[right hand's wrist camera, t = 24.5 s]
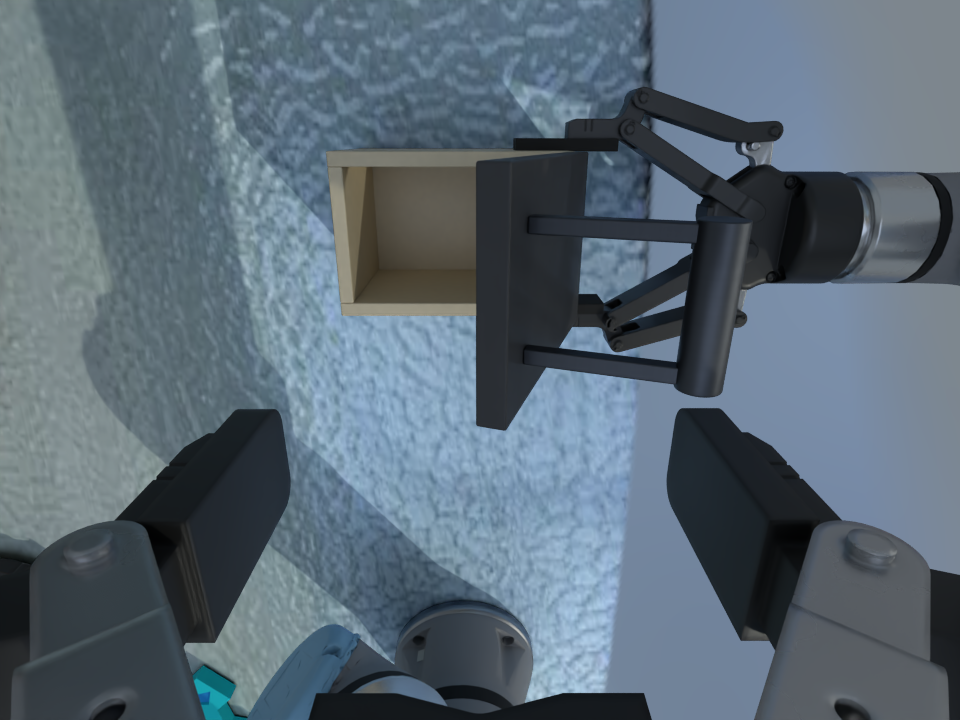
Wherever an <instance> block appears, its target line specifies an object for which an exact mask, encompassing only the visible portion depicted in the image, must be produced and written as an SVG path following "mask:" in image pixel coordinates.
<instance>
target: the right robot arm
mask: <svg viewBox="0 0 960 720" xmlns="http://www.w3.org/2000/svg"><path fill="white" fill-rule="evenodd" d="M667 492H668V498H669V502H670V505H671V507H672V509H673V511H674V513H675V515H676V517H677V519H678V521H679V523H680V524H681V526H682V528H683V530H684V532H685V534H686V536H687V538H688V540H689V542H690V544H691V546H692V548H693V549H694V551H695V553H696V555H697V557H698V559H699V561H700V563H701V565H702V567H703V569H704V571H705V573H706V574H707V576H708V578H709V580H710V582H711V584H712V586H713V588H714V590H715V592H716V594H717V596H718V597H719V600H720V601H721V603H722V605H723V607H724V609H725V611H726V613H727V615H728V617H729V619H730V621H731V623H732V625H733V626H734V628H735V630H736V632H737V634H738V636H739V638H740V640H741V641H770V642H771V644H772V646H773V648H774V649H775V654H774V657H773V660H772V663H771V667H770V670H769V673H768V676H767V680H766V683H765V686H764V689H763V693H762V696H761V699H760V702H759V706H758V709H757V712H756V716H755V719H754V720H960V575H957V574H952V573H947V572H942V571H937V570H933V569H930V568H929V566H928V564H927V562H926V561H925V559H924V558H923V557H922V556H921V555H920V554H919V553H918V552H917V551H916V550H915V549H914V548H913V547H911V546H910V545H909V544H907V543H906V542H904V541H903V540H901V539H899V538H898V537H896V536H894V535H892V534H890V533H888V532H886V531H883V530H881V529H878V528H875V527H873V526H869V525H866V524H862V523H858V522H852V521H842V520H841V519H840V518H839V517H838V516H837V514H835V512H834V511H833V510H832V509H831V508H830V507H829V506H828V505H827V504H826V503H825V502H824V501H823V500H822V499H821V498H820V497H819V496H818V494H817V493H816V492H815V491H814V490H813V489H812V488H811V487H810V486H809V485H808V484H807V483H806V482H805V481H804V480H803V479H800V478H799V474H798V473H797V472H796V471H795V470H794V469H793V468H792V467H791V466H790V465H787V462H786V461H785V460H784V459H783V458H782V456H781V455H780V454H779V453H778V452H777V451H776V450H775V449H774V448H773V447H772V446H771V445H769V444H767V443H765V442H764V441H762V440H760V439H759V438H757V437H755V436H753V435H752V434H750V433H748V432H741V431H740V430H739V428H738V427H737V426H736V425H735V424H734V423H733V422H732V421H731V420H730V418H729V417H728V416H727V415H726V414H725V413H724V412H723V411H722V410H721V409H719V408H682V409H680V410H679V411H678V413H677V415H676V419H675V424H674V431H673V438H672V445H671V451H670V458H669V465H668V472H667ZM289 495H290V471H289V465H288V458H287V451H286V445H285V438H284V432H283V425H282V419H281V416H280V414H279V412H278V411H277V410H276V409H237V410H235V411H234V412H233V413H232V414H231V415H230V417H229V418H228V419H227V420H226V421H225V422H224V423H223V424H222V425H221V427H220V428H219V429H218V430H217V431H216V432H215V433H208V434H207V435H205V436H203V437H201V438H200V439H198V440H196V441H194V442H193V443H191V444H189V445H188V446H186V447H184V448H183V449H182V450H181V452H180V453H179V454H178V455H177V456H176V457H175V458H174V459H173V460H172V461H171V462H170V463H169V466H166V467H165V468H164V469H163V470H162V471H161V472H160V473H159V475H158V476H157V479H156V480H153V481H152V482H151V483H150V484H149V485H148V486H147V487H146V488H145V489H144V490H143V491H142V492H141V493H140V494H139V495H138V496H137V498H136V499H135V500H134V501H133V502H132V503H131V504H130V505H129V506H128V507H127V508H126V509H125V510H124V511H123V512H122V513H121V514H120V515H119V516H118V517H117V518H116V519H115V521H108V522H102V523H98V524H94V525H91V526H87V527H84V528H82V529H79V530H77V531H74V532H72V533H70V534H68V535H66V536H64V537H62V538H61V539H59V540H57V541H56V542H54V543H53V544H51V545H50V546H49V547H47V548H46V549H45V550H44V551H43V552H42V553H41V554H40V555H39V556H38V557H37V558H36V559H35V561H34V562H33V564H32V566H31V568H30V570H26V571H22V572H17V573H12V574H7V575H2V576H0V720H206V719H205V715H204V712H203V709H202V706H201V702H200V699H199V696H198V693H197V689H196V686H195V683H194V680H193V676H192V673H191V670H190V667H189V663H188V660H187V657H186V654H185V650H184V645H185V643H215V641H216V640H217V638H218V636H219V634H220V632H221V630H222V628H223V626H224V624H225V622H226V621H227V619H228V617H229V615H230V613H231V611H232V609H233V607H234V605H235V603H236V602H237V600H238V598H239V596H240V594H241V592H242V590H243V588H244V586H245V584H246V583H247V581H248V579H249V577H250V575H251V573H252V571H253V569H254V567H255V565H256V564H257V562H258V560H259V558H260V556H261V554H262V552H263V550H264V548H265V546H266V544H267V543H268V541H269V539H270V537H271V535H272V533H273V531H274V529H275V527H276V525H277V524H278V522H279V520H280V518H281V516H282V514H283V512H284V510H285V508H286V506H287V503H288V500H289ZM308 720H652V719H651V716H650V712H649V709H648V706H647V702H646V699H645V695H644V693H562V694H558V695H554V696H550V697H546V698H543V699H539V700H535V701H531V702H527V703H523V704H519V705H516V706H512V707H508V708H504V709H500V710H496V711H493V712H488V713H472V712H467V711H464V710H460V709H456V708H452V707H448V706H444V705H440V704H437V703H433V702H429V701H425V700H421V699H417V698H414V697H410V696H406V695H402V694H398V693H316V695H315V699H314V702H313V705H312V709H311V712H310V716H309V719H308Z"/></svg>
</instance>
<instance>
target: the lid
mask: <svg viewBox="0 0 960 720" xmlns="http://www.w3.org/2000/svg"><path fill="white" fill-rule="evenodd" d="M587 165H588V152H561V153H551V154H541V155H531V156H521V157H511V158H501V159H491V160H481V161H477V162H476V425H477V426H480V427H486V428H492V429H498V430H506V429H507V428H508V426H509V425H510V423H511V421H512V420H513V418H514V417H515V415H516V414H517V412H518V411H519V409H520V407H521V406H522V404H523V403H524V401H525V400H526V398H527V396H528V395H529V393H530V392H531V390H532V389H533V387H534V386H535V384H536V382H537V381H538V379H539V378H540V376H541V375H542V373H543V371H544V370H545V368H546V367H547V368H555V369H562V370H570V371H577V372H585V373H592V374H600V375H607V376H615V377H623V378H630V379H638V380H645V381H653V382H660V383H668V384H674V387H675V388H676V389H677V390H678V391H680V392H682V393H684V394H687V395H690V396H695V397H706V398H707V397H715V396H718V395H720V394H721V393H722V391H723V385H724V380H725V374H726V368H727V363H728V357H729V352H730V346H731V341H732V335H733V330H734V324H735V319H736V313H737V308H738V302H739V297H740V291H741V285H742V280H743V274H744V269H745V263H746V258H747V252H748V247H749V241H750V236H751V230H752V225H753V221H752V220H750V219H746V218H740V217H730V216H704V217H699V218H698V219H697V221H678V220H655V219H633V218H611V217H589V216H584V209H585V194H586V180H587ZM582 237H585V238H603V239H620V240H638V241H656V242H674V243H691V244H693V251H692V258H691V265H690V272H689V279H688V286H687V293H686V300H685V307H684V314H683V321H682V328H681V335H680V342H679V349H678V356H677V362H670V361H661V360H653V359H645V358H637V357H628V356H620V355H612V354H604V353H595V352H587V351H579V350H570V349H562V348H559V347H560V345H561V343H562V342H563V340H564V339H565V337H566V336H567V334H568V332H569V331H570V329H571V328H572V326H573V325H574V323H575V322H576V320H577V310H578V295H579V281H580V266H581V252H582Z"/></svg>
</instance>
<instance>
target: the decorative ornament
mask: <svg viewBox="0 0 960 720" xmlns="http://www.w3.org/2000/svg"><path fill="white" fill-rule="evenodd" d="M193 680H194V683H195V686H196V689H197V693H198V696H199V699H200V702H201V706H202V709H203V712H204V715H205V719H206V720H247V718H243V717H237V716H234V714H233V712H232V711H231V709H230V707H229V705H228V704H227V701H229V700H230V699H231V696H232V694H233V692H234V690H235V687H236V685H234V684H233V683H231V682H229V681H228V680H226V679H225V678H223V677H221V676H220V675H218V674H216V673H215V672H213V671H212V670H210V669H208V668H207V667H205V666H202V667H201V668H200V669H199V670H198V671H197V672H196V673H195V674H194V675H193Z"/></svg>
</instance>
